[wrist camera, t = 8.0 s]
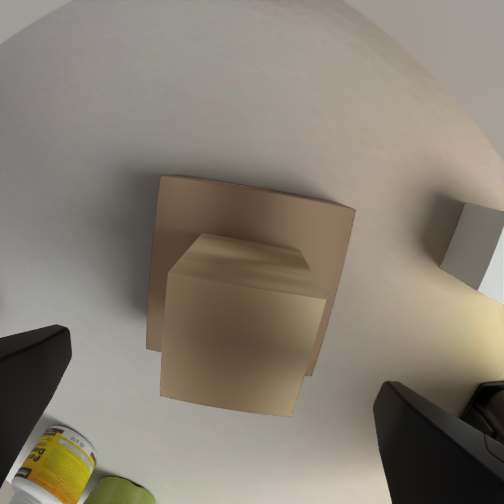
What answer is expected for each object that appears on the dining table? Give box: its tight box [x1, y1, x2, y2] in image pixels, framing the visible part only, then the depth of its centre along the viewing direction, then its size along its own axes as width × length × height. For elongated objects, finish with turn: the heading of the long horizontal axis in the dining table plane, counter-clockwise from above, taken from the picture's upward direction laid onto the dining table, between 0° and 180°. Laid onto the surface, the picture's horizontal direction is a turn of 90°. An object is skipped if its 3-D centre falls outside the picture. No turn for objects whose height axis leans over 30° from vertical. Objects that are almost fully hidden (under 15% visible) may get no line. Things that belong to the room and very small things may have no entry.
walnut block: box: [146, 175, 356, 376], centre depth 17 cm, size 9×9×3 cm
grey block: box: [440, 203, 504, 304], centre depth 16 cm, size 4×4×6 cm
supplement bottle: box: [9, 426, 97, 504], centre depth 18 cm, size 6×6×10 cm
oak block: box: [160, 233, 326, 417], centre depth 12 cm, size 4×4×6 cm
